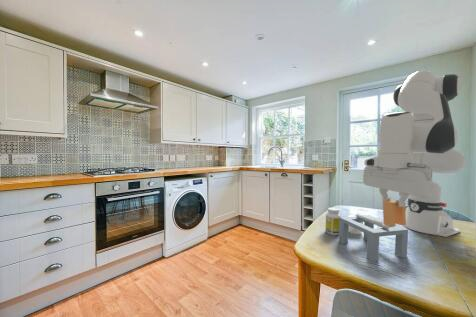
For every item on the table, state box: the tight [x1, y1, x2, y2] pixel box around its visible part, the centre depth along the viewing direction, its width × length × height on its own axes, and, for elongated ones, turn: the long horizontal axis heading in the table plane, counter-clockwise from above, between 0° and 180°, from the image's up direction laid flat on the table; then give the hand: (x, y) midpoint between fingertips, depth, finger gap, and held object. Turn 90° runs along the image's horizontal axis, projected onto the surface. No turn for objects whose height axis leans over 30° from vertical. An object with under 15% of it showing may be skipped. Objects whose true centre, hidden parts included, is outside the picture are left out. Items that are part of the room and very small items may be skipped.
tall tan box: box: [382, 199, 406, 227], centre depth 65 cm, size 6×3×8 cm, turn 105°
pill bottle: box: [325, 207, 342, 236], centre depth 92 cm, size 6×6×11 cm
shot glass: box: [346, 214, 364, 235], centre depth 94 cm, size 7×7×7 cm
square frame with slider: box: [338, 213, 409, 263], centre depth 77 cm, size 15×16×12 cm
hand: (392, 204), depth 66 cm, fingers closed on tall tan box, 3 cm apart
